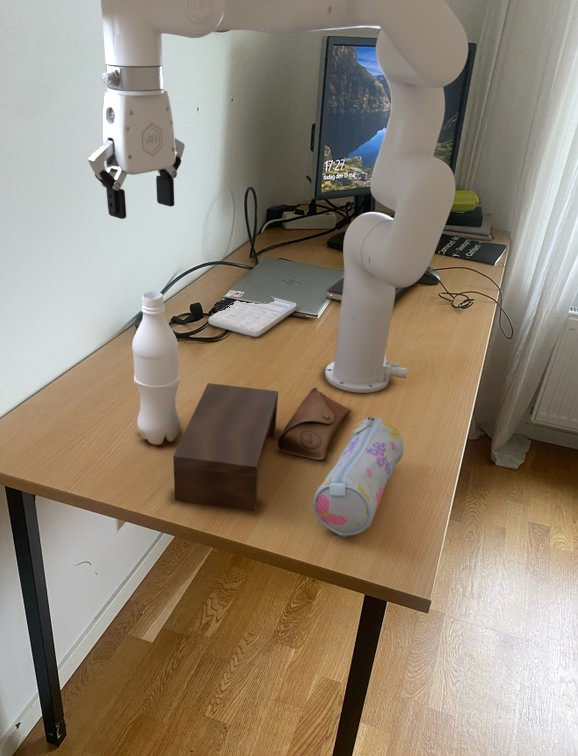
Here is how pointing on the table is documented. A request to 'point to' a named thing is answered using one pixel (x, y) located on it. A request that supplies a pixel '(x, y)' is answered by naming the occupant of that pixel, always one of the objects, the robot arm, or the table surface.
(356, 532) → the pencil case
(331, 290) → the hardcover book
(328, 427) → the sunglasses case
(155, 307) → the water bottle
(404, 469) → the table surface
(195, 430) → the wooden block
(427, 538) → the table surface
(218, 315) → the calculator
